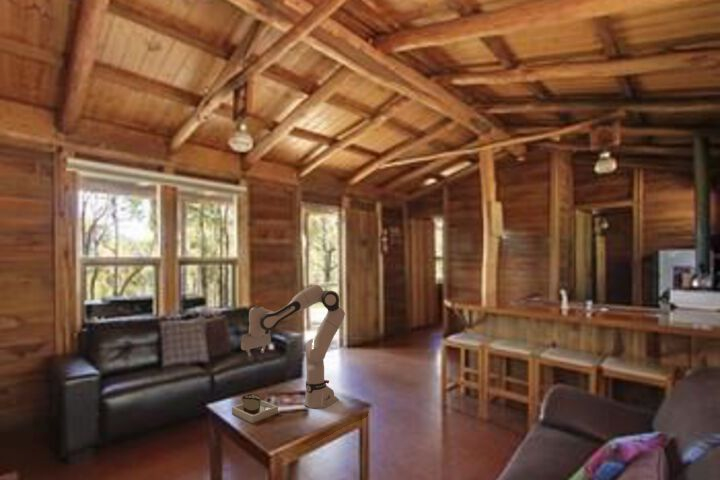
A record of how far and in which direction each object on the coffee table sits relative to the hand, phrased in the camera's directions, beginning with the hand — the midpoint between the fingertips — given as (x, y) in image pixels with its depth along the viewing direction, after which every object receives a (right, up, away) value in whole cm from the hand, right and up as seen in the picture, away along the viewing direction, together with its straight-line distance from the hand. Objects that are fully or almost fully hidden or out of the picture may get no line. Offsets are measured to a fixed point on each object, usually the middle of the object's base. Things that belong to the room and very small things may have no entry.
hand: (256, 354), depth 257 cm
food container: (+2, -30, -14) cm, 33 cm away
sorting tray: (+3, -31, -14) cm, 34 cm away
